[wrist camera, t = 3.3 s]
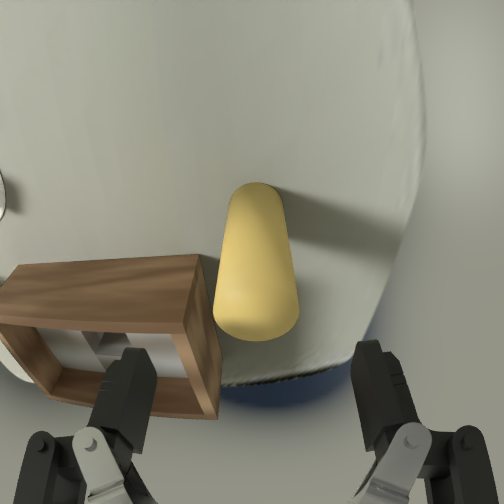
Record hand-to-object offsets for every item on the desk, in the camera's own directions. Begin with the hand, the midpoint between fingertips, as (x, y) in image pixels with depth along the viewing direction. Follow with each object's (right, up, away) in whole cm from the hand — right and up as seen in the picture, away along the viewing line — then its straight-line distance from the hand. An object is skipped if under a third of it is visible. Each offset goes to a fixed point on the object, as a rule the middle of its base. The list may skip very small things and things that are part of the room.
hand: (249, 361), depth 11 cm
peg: (0, +7, +10) cm, 12 cm away
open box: (-13, -2, +16) cm, 21 cm away
